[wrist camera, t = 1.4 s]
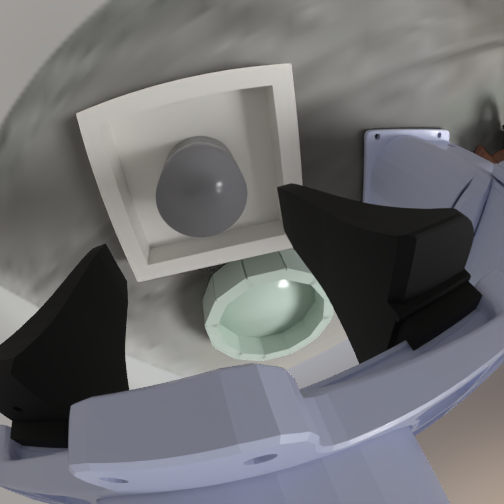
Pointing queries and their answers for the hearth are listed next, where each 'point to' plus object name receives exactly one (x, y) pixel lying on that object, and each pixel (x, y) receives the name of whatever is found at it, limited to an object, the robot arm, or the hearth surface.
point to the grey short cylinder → (200, 188)
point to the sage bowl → (265, 306)
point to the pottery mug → (496, 158)
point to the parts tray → (178, 129)
